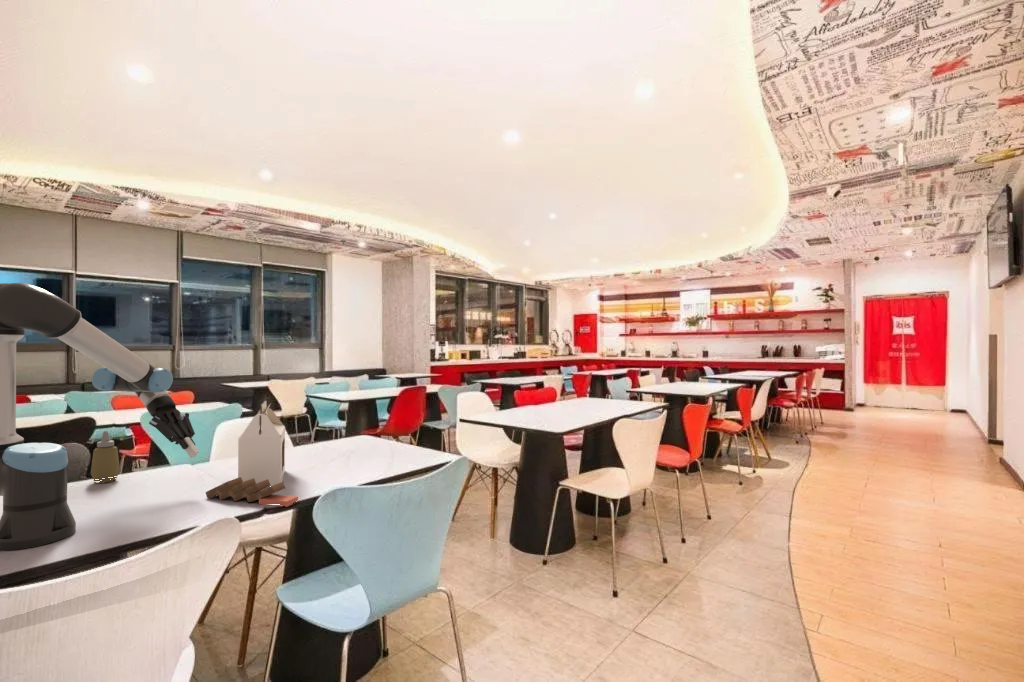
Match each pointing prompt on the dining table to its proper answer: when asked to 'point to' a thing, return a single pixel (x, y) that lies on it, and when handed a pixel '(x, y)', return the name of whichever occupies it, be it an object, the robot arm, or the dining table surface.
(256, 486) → the domino
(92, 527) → the dining table surface
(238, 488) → the domino
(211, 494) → the domino
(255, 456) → the gable box
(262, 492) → the domino
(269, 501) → the domino
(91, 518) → the dining table surface
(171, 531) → the dining table surface
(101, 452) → the squeeze bottle
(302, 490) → the dining table surface
